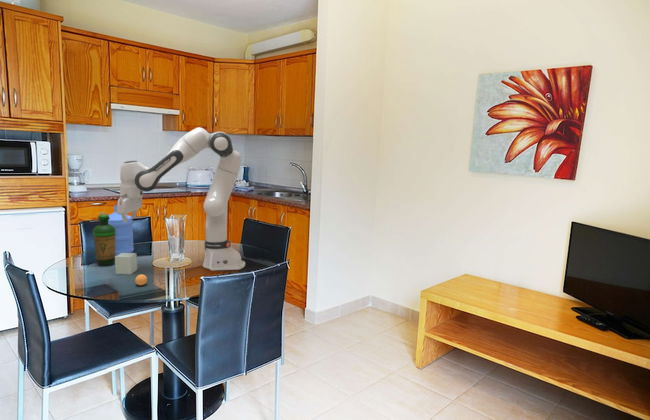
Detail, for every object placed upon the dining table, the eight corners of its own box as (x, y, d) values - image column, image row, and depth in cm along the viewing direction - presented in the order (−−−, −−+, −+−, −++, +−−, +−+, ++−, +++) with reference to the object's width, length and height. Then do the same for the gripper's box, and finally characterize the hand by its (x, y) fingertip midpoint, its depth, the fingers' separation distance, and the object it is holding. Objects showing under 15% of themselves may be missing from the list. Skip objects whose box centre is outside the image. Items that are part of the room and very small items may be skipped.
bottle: (101, 268, 212) (98, 215, 208) (90, 264, 218) (87, 212, 213) (121, 263, 221) (119, 212, 217) (110, 260, 227) (107, 210, 222)
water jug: (138, 252, 244) (136, 206, 239) (110, 257, 232) (108, 208, 228) (127, 247, 254) (125, 202, 250) (99, 252, 242) (97, 205, 238)
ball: (148, 283, 193) (148, 273, 192) (144, 287, 188) (144, 276, 187) (138, 283, 192) (137, 272, 192) (133, 286, 188) (133, 276, 187)
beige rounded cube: (137, 269, 212) (136, 253, 211) (130, 274, 205) (130, 257, 203) (122, 269, 212) (121, 252, 210) (115, 273, 205) (114, 256, 203)
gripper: (126, 196, 195) (126, 225, 197) (144, 191, 215) (143, 216, 218) (113, 195, 195) (113, 223, 197) (132, 189, 215) (131, 215, 217)
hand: (129, 220), depth 208 cm, fingers open, 8 cm apart
